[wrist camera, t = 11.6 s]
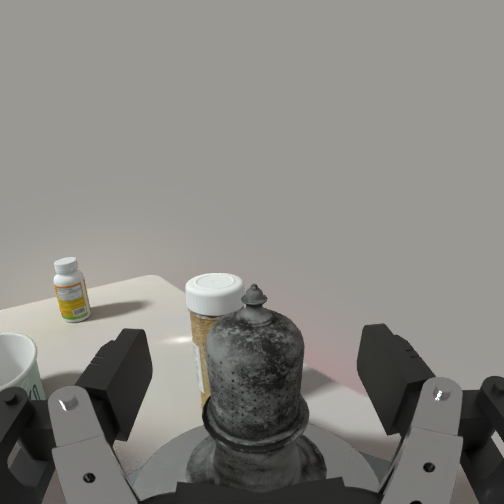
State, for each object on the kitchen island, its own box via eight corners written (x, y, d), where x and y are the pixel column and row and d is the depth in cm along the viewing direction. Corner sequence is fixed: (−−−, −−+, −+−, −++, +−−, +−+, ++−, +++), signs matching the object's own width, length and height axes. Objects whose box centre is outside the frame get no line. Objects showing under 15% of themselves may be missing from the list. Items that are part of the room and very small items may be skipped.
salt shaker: (298, 452, 14) (319, 248, 11) (330, 534, 9) (418, 321, 5) (194, 465, 13) (155, 258, 10) (202, 554, 8) (112, 356, 5)
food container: (13, 368, 28) (-3, 324, 26) (75, 392, 27) (57, 343, 25) (-40, 416, 17) (-66, 370, 15) (17, 462, 15) (-18, 411, 13)
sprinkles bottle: (238, 428, 24) (230, 296, 20) (193, 415, 25) (173, 287, 22) (254, 398, 28) (252, 273, 24) (213, 388, 30) (202, 268, 26)
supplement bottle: (71, 308, 46) (60, 256, 44) (96, 309, 47) (86, 255, 44) (57, 322, 41) (44, 265, 39) (83, 324, 41) (70, 265, 39)
